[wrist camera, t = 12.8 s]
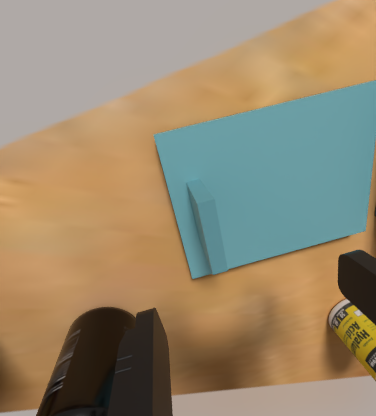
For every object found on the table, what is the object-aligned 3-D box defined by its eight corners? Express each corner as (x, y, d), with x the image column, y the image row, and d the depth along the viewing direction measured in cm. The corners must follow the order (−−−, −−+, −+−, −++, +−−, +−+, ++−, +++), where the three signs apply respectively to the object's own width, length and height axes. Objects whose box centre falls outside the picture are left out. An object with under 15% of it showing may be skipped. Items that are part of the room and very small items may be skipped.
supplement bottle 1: (88, 362, 24) (32, 574, 13) (57, 317, 21) (-50, 537, 10) (151, 341, 24) (148, 532, 13) (127, 294, 21) (99, 485, 10)
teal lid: (357, 83, 17) (464, 64, 11) (347, 221, 22) (419, 259, 16) (153, 133, 17) (153, 141, 11) (189, 265, 21) (202, 321, 15)
